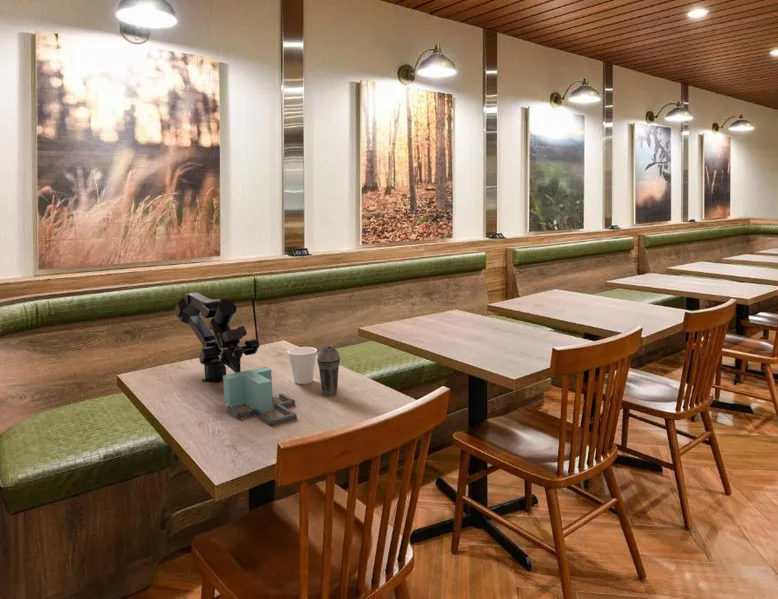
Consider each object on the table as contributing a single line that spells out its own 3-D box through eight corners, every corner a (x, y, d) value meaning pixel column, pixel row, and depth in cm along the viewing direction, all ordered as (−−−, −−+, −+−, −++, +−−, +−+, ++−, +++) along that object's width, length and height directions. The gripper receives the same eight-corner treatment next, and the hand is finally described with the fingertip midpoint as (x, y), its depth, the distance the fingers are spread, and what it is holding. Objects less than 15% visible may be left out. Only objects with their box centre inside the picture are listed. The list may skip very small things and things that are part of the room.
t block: (224, 403, 176) (222, 375, 175) (266, 393, 185) (265, 366, 183) (244, 417, 166) (242, 387, 164) (288, 406, 174) (286, 377, 172)
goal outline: (227, 411, 170) (226, 406, 170) (282, 397, 181) (281, 393, 181) (254, 430, 156) (254, 425, 156) (312, 414, 167) (311, 409, 167)
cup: (312, 387, 190) (311, 355, 188) (284, 385, 192) (282, 353, 190) (322, 378, 200) (321, 347, 198) (294, 376, 202) (293, 346, 200)
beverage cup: (344, 392, 186) (343, 331, 182) (335, 399, 179) (333, 336, 175) (324, 389, 188) (322, 329, 184) (314, 397, 181) (311, 335, 178)
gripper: (200, 323, 178) (216, 365, 172) (256, 314, 189) (273, 354, 183) (192, 342, 186) (207, 384, 179) (247, 333, 197) (263, 372, 190)
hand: (239, 373), depth 183 cm, fingers closed
